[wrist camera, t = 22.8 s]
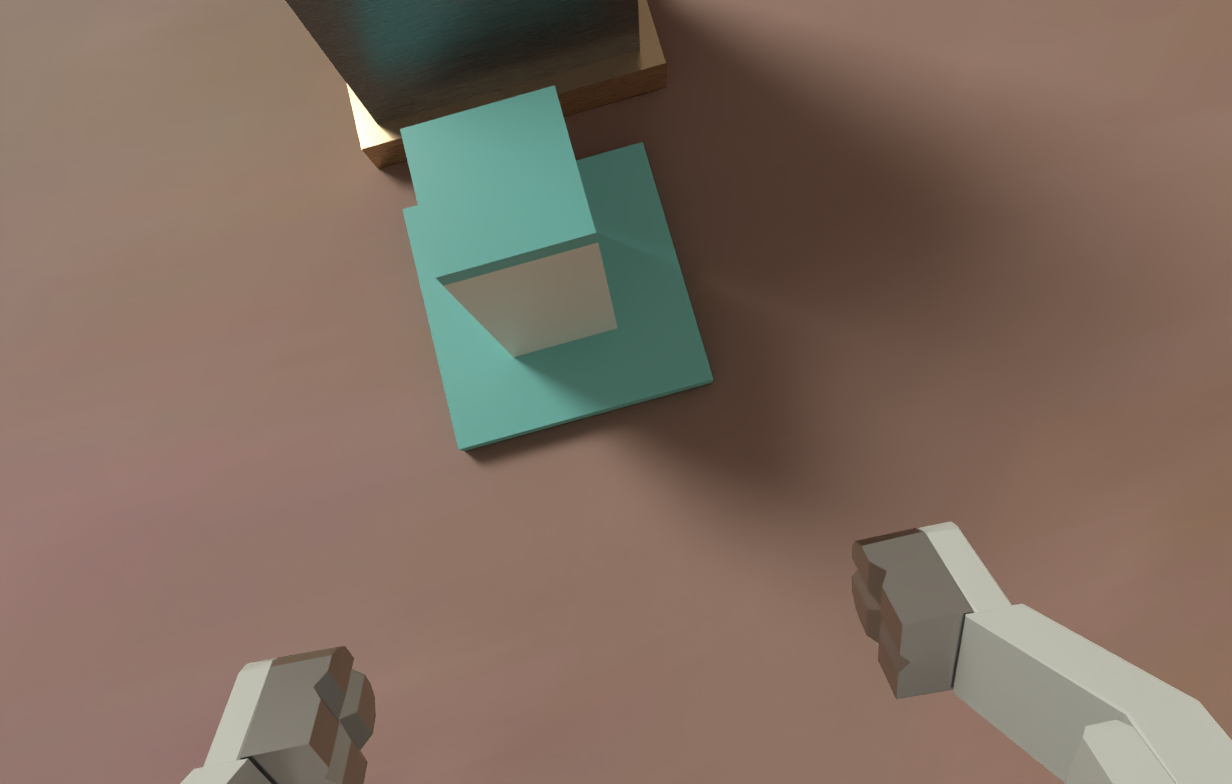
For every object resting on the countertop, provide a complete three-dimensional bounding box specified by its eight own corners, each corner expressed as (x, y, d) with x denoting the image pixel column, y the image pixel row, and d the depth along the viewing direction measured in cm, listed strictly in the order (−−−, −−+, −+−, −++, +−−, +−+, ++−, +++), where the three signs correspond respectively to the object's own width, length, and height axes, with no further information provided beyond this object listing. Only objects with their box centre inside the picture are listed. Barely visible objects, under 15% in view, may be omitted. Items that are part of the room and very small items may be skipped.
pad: (464, 451, 34) (458, 449, 33) (409, 217, 36) (402, 209, 35) (711, 382, 33) (713, 379, 32) (643, 152, 35) (642, 141, 34)
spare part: (513, 357, 33) (435, 277, 21) (488, 257, 34) (399, 129, 22) (617, 328, 33) (595, 232, 21) (589, 228, 34) (554, 85, 22)
